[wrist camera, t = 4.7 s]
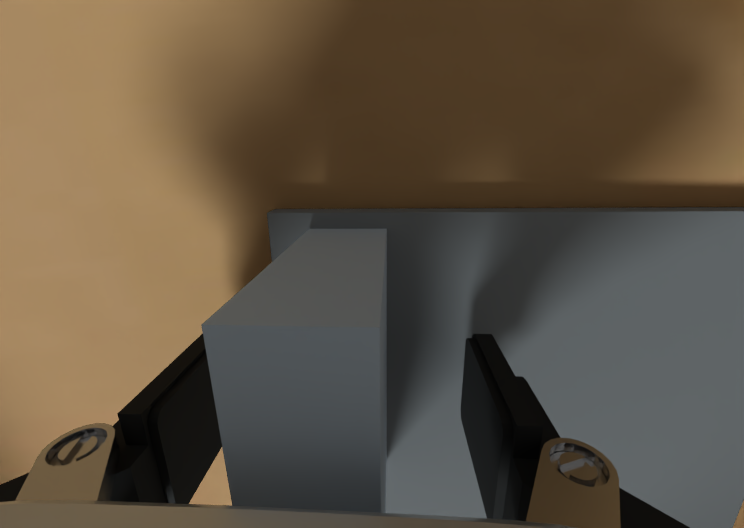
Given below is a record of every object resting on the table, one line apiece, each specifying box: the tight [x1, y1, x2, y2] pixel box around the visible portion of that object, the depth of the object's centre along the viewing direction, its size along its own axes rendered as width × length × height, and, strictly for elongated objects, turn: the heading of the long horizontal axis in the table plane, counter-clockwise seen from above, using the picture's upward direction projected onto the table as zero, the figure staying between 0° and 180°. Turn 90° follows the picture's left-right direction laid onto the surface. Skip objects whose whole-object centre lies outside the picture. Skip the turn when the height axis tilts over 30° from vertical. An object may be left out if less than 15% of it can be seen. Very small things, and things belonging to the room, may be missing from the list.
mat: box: [267, 207, 744, 528], centre depth 14 cm, size 22×17×1 cm
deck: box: [202, 229, 387, 513], centre depth 9 cm, size 9×2×6 cm, turn 1°
